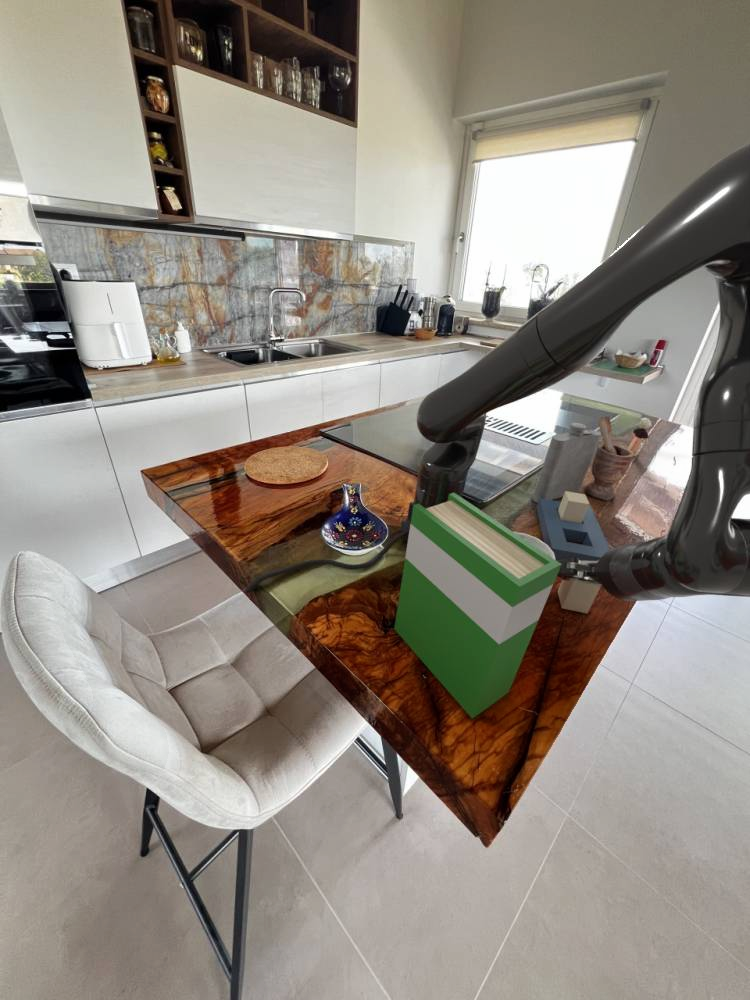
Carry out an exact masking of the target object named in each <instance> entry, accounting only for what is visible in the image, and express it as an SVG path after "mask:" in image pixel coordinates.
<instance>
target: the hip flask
mask: <svg viewBox="0 0 750 1000" xmlns="http://www.w3.org/2000/svg"><path fill="white" fill-rule="evenodd" d="M601 437H602V434H601V431H598V430H593V429H587V426H586V425H585V424H583V423H579V422H571V423H570V425H569V431H568V432H563V433H558V434H556V435H553V436H552V438H551V441H550V444H549V448H548V450H547V453H546V457H545V460H544V462H543V466H542V469H541V471H540V474H539V478H538V481H537V484H536V487H535V490H534V493H533V496H532V501H533V502H534V503H536V504H538V502H539V499H540V498H542V499H548V500H553V501H554V500H556V499H560V498H563V496H564V493H565V491H568V492H574V493H579V494H580V490H581V487H582V485H583V483H584V480H585V477H586V475H587V472H588V470H589V467H590V466H591V465H590V464H591V462H592V461H593V457H594V456H595V453H596V450H597V448H598V445H599V441H600V439H601Z"/></svg>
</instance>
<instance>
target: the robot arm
mask: <svg viewBox="0 0 750 1000" xmlns="http://www.w3.org/2000/svg"><path fill="white" fill-rule="evenodd" d="M701 268H704V269H705V271H707V272H709V273H710V274H712V275H713V276H714V280H715V284H716V291H717V297H718V305H719V324H718V325H719V327H718V334H717V339H716V343H715V348H714V350H713V353H712V357H711V360H710V362H709V364H708V367H707V369H706V372H705V374H704V377H703V378H702V382H701V384H700V388H699V390H698V394H697V398H696V402H695V409H694V413H693V414H694V416H693V426H692V427H693V429H692V430H693V431H692V447H691V448H692V449H691V467H690V473H689V475H688V479H687V481H686V485H685V487H684V490H683V492H682V496H681V499H680V501H679V505H678V507H677V510H676V512H675V514H674V517H673V519H672V521H671V523H670V527H669V529H668V532H667V534H665V535H662V536H659V537H655V538H651V539H641V540H638V541H633V542H631V543H627V544H624V545H620V546H617V547H614V548H610V550H609V551H607V552H606V553H605V554H604V555H603V556H602V557H601V559H600V560H598V561H585V560H582V561H581V562H580V563H579V558H577V557H570V558H566V559H562V560H558V562H559V563H561V564H562V565H561V567H560V569H559V572H558V574H557V577H558V578H562V579H561V580H566V581H568V580H579V582H582V583H585V584H594V585H599V586H601V587H600V588H603V589H604V590H605V591H606V592H607V593H608V594H609V595H611V596H612V597H614V598H616V599H618V600H621V601H625V602H626V601H627V602H641V601H642V602H643V601H646V602H647V601H662V600H667V599H669V598H686V597H687V598H688V597H694V596H725V597H740V598H741V597H743V598H744V597H746V598H750V518H740V517H739V518H738V517H733V515H734V513H735V510H736V509H737V506H738V505H739V503H740V502H741V501H742V499H743V498H744V497H745V496H747V495H750V142H748V143H746V144H744V145H741V146H739V147H738V148H736V149H734V150H733V151H731V152H729V153H727V154H725V155H724V156H723V157H721V158H720V159H719V160H717V161H716V162H714V163H712V165H710V166H709V167H707V168H706V169H705V170H704V171H702V172H701V173H700V174H699V175H698V176H697V177H695V178H694V179H693V180H691V182H690V183H689V184H688V185H686V186H685V187H684V188H683V189H682V190H681V191H680V192H678V194H677V195H675V196H674V197H673V198H672V199H671V200H670V201H668V202H667V203H666V204H665V205H664V206H663V207H662V208H661V209H660V210H659V211H658V212H657V213H656V214H654V215H653V216H652V217H651V218H650V219H649V220H648V221H647V222H646V223H645V224H644V225H643V226H642V227H641V228H639V229H638V230H637V231H636V232H635V233H633V235H631V237H630V238H628V240H626V241H625V242H624V243H623V244H622V245H621V246H619V248H617V250H615V251H614V252H613V253H612V254H610V256H608V257H606V259H604V260H603V261H602V262H601V263H600V264H599V265H597V266H596V267H595V268H594V269H592V270H590V272H589V273H587V274H586V275H585V276H583V278H581V279H580V280H578V282H576V283H575V284H573V286H571V287H570V288H568V290H567V291H565V292H564V293H563V294H562V295H560V296H558V298H555V300H553V301H552V302H551V303H549V304H548V305H546V306H545V307H543V308H542V309H541V310H539V311H538V312H537V313H536V314H535V315H533V316H531V317H530V318H529V319H528V320H527V321H525V322H524V323H522V325H520V326H519V327H518V328H516V330H514V331H513V332H512V333H511V334H510V335H508V336H507V337H506V338H505V339H504V340H503V341H501V342H499V343H498V344H497V345H496V346H495V347H493V348H492V349H491V350H489V351H488V353H486V354H485V355H483V356H482V357H481V358H480V359H479V360H478V361H477V362H475V363H474V364H473V365H472V366H470V368H468V369H467V370H465V371H464V372H462V373H461V374H460V375H458V376H456V377H455V378H453V379H451V380H449V381H448V382H446V383H445V384H442V385H441V386H439V387H438V388H436V389H434V390H433V391H431V392H429V393H428V394H426V396H425V397H424V398H423V400H422V401H421V402H420V404H419V406H418V409H417V413H416V426H417V429H418V431H419V433H420V435H421V436H422V437H423V438H424V439H426V440H427V441H429V442H431V443H433V444H432V445H431V446H430V447H428V448H427V449H426V450H425V451H424V452H423V453H422V455H421V456H420V461H419V466H418V474H417V479H416V485H415V492H414V499H413V501H410V502H409V504H408V510H407V518H405V519H402V520H401V523H400V530H401V532H400V533H398V534H397V535H395V536H394V537H392V538H391V540H389V541H388V542H387V544H386V545H385V547H384V548H382V549H381V550H380V551H379V552H378V553H377V554H376V555H375V556H374V557H372V558H371V559H370V560H368V561H365V562H362V563H357V564H351V563H346V562H340V561H338V560H334V559H329V558H317V559H309V560H305V561H301V562H298V563H294V564H292V565H288V566H287V567H286V566H285V567H283V568H279V569H275V570H272V571H269V572H265V573H263V574H262V575H260V576H258V577H257V578H255V579H254V580H253V581H251V583H250V584H249V585H248V586H247V588H246V589H245V591H246V593H247V592H248V593H250V592H252V591H254V590H255V588H256V587H257V586H258V585H260V584H261V583H262V582H264V581H266V580H267V579H269V578H273V577H275V576H279V575H283V574H286V573H289V572H292V571H294V570H298V569H301V568H304V567H308V566H313V565H314V566H315V565H329V566H333V567H337V568H340V569H346V570H361V569H362V570H363V569H365V568H369V567H371V566H373V565H375V563H377V562H378V561H379V560H380V559H381V558H382V557H383V556H385V555H386V554H387V553H388V552H389V550H390V549H391V548H392V547H393V546H394V544H395V543H397V542H398V541H400V540H401V539H403V538H404V541H405V542H406V544H408V537H409V531H410V524H411V518H412V512H413V505H416V504H420V505H421V506H423V507H424V508H425V509H426V508H429V507H432V506H435V505H439V504H442V503H445V502H448V497H449V494H451V493H455V494H457V495H458V496H460V497H461V498H463V495H464V491H465V487H466V486H465V485H466V483H467V478H468V473H469V471H470V468H471V467H472V466H473V464H474V463H475V461H476V458H477V455H478V451H479V448H480V444H481V441H482V437H483V434H484V430H485V427H486V420H487V413H489V412H491V411H493V410H496V409H499V408H501V407H504V406H507V405H509V404H512V403H515V402H518V401H520V400H523V399H525V398H527V397H530V396H533V395H534V394H537V393H539V392H542V391H543V390H545V389H547V388H549V387H551V386H554V385H556V384H558V383H559V382H561V381H562V380H564V379H566V378H567V377H569V376H571V375H573V374H574V373H576V372H578V371H579V370H581V369H583V368H584V367H586V366H587V365H589V364H590V363H592V362H593V361H594V360H595V359H596V358H597V357H599V355H601V353H602V352H603V351H604V350H605V348H606V347H607V346H608V344H609V343H610V342H611V341H612V339H613V338H614V337H615V336H616V334H617V333H618V331H619V330H620V328H621V327H622V325H623V324H624V323H625V322H626V321H627V320H628V318H629V317H630V316H631V315H632V314H633V313H634V312H635V311H636V310H638V308H640V307H641V306H642V305H643V304H645V303H646V302H647V301H649V300H650V299H652V298H653V297H654V296H656V295H657V294H659V293H661V292H662V291H664V290H665V289H667V288H668V287H670V286H672V285H673V284H675V283H677V282H678V281H679V280H681V279H683V278H685V277H686V276H688V275H690V274H692V273H695V272H696V271H697V270H700V269H701ZM578 572H579V575H578ZM588 577H590V578H592V579H593V580H588Z"/></svg>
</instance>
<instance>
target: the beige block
mask: <svg viewBox="0 0 750 1000" xmlns="http://www.w3.org/2000/svg"><path fill="white" fill-rule="evenodd" d="M580 562H581V561H580V560H579V563H580ZM578 575H579V572H578ZM588 580H593V579H592V578H590V577H588ZM601 588H602V587H601V586H599V585H594V584H585V583H582V582H579V580H568V581H566V580H563V579H561V583H560V585H559V587H558V589H557V595H558V599H559V603H560V607H561V609H564V610H569V611H573V612H578V613H583V614H588V613H589V611H590V609H591V608H592V605H593V604H594V601H595V599H596V597H597V595H598V593H599V591H600V589H601Z"/></svg>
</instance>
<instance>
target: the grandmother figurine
mask: <svg viewBox="0 0 750 1000" xmlns="http://www.w3.org/2000/svg"><path fill="white" fill-rule="evenodd" d="M638 426H639V427H636V428H635V429H634V430H633V431H632V432H631V433H630V436H631V437H633V438H632V440H631V442H630V444H629V446H628V448H627V449H629V450H630V451H632V452H633V453H634V457H637V456H638V454H637V453H638V451H639V449H640V448H641V445H642V441H643V443H644V444H645V445H646V444H648V443H649V438H650V437H649V433H648V431H647V429H648V428H649V427H652V422H651V420H650V419H649V418H648V417H643V418H641V419H640V422H639V425H638Z"/></svg>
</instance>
